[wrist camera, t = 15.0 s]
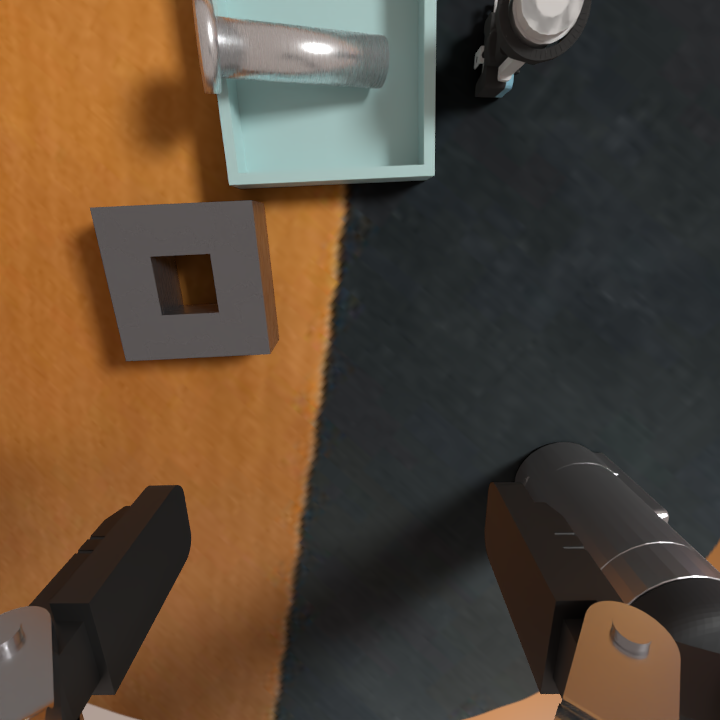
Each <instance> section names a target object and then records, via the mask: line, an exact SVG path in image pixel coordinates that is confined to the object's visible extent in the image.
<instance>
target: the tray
mask: <svg viewBox="0 0 720 720" xmlns="http://www.w3.org/2000/svg"><path fill="white" fill-rule="evenodd" d="M212 2H213V7H214V13H215V16H222V17H230V18H239V19H248V20H257V21H265V22H274V23H283V24H292V25H300V26H309V27H318V28H327V29H335V30H344V31H353V32H361V33H370V34H379V35H384V36H385V37H386V38H387V41H388V45H389V68H388V73H387V77H386V80H385V83H384V85H383V86H382V88H380V89H372V88H358V87H343V86H328V85H314V84H299V83H285V82H270V81H255V80H241V79H226V78H221V81H222V92H221V94H217V99H218V106H219V113H220V121H221V128H222V136H223V143H224V151H225V158H226V166H227V173H228V181H229V185H230V186H233V187H236V188H239V189H251V188H273V187H294V186H316V185H337V184H359V183H380V182H402V181H423V180H428V179H429V178H431V177H433V176H434V173H435V82H436V0H212Z"/></svg>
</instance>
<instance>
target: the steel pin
mask: <svg viewBox="0 0 720 720" xmlns="http://www.w3.org/2000/svg"><path fill="white" fill-rule="evenodd" d="M192 1H193V14H194V23H195V32H196V41H197V49H198V56H199V63H200V70H201V76H202V82H203V88H204V92H205V93H209V94H221V92H222V81H221V78H226V79H241V80H255V81H270V82H285V83H299V84H314V85H328V86H343V87H358V88H372V89H380V88H382V86H383V85H384V83H385V80H386V77H387V73H388V68H389V45H388V41H387V38H386V37H385V36H384V35H379V34H370V33H361V32H353V31H344V30H335V29H327V28H318V27H309V26H300V25H292V24H283V23H274V22H265V21H257V20H248V19H239V18H230V17H222V16H215V13H214V7H213V2H212V0H192Z"/></svg>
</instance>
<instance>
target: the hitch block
mask: <svg viewBox="0 0 720 720" xmlns="http://www.w3.org/2000/svg"><path fill="white" fill-rule="evenodd" d="M90 210H91V214H92V219H93V223H94V227H95V231H96V236H97V240H98V244H99V248H100V253H101V257H102V261H103V265H104V270H105V274H106V278H107V282H108V286H109V291H110V295H111V299H112V303H113V308H114V312H115V316H116V320H117V325H118V329H119V333H120V337H121V341H122V346H123V350H124V354H125V358H126V361H140V360H160V359H180V358H200V357H220V356H240V355H260V354H271V352H272V350H273V349H274V347H275V345H276V344H277V342H278V341H279V334H278V325H277V316H276V307H275V298H274V289H273V280H272V271H271V262H270V253H269V244H268V235H267V226H266V217H265V208H264V203H261V202H257V201H253V200H246V201H224V202H203V203H182V204H160V205H139V206H117V207H96V208H90ZM196 254H210V257H211V263H212V270H213V276H214V283H215V289H216V295H217V302H218V303H214V304H194V305H183V300H182V294H181V289H180V283H179V278H178V272H177V267H176V261H175V255H196Z"/></svg>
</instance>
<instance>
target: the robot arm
mask: <svg viewBox="0 0 720 720" xmlns="http://www.w3.org/2000/svg"><path fill="white" fill-rule="evenodd" d="M668 519H669V515H668V512H667V511H666V510H665V509H664V508H663V507H662V506H661V505H660V504H659V503H658V502H656V501H655V500H654V499H653V498H652V497H651V496H650V495H649V494H648V493H646V492H645V491H644V490H643V489H642V488H641V487H640V486H639V485H638V484H636V483H635V482H634V481H633V480H632V479H631V478H630V477H629V476H628V475H626V474H625V473H624V472H623V471H622V470H621V469H620V468H619V467H618V466H616V465H615V464H614V463H613V462H612V461H611V460H610V459H609V458H608V457H606V456H605V455H604V454H603V453H593V452H591V451H590V450H588V449H587V448H585V447H584V446H581V445H579V444H576V443H569V442H558V443H553V444H549V445H546V446H544V447H542V448H539V449H538V450H536V451H535V452H533V453H532V454H531V455H529V456H528V457H527V458H526V459H525V460H524V462H523V463H522V464H521V466H520V467H519V469H518V472H517V474H516V477H515V482H491V483H490V485H489V490H488V500H487V511H486V522H485V545H486V551H487V555H488V558H489V561H490V564H491V566H492V569H493V571H494V574H495V577H496V579H497V582H498V585H499V587H500V590H501V592H502V595H503V598H504V600H505V603H506V605H507V608H508V611H509V613H510V616H511V618H512V621H513V624H514V626H515V629H516V631H517V634H518V637H519V639H520V642H521V644H522V647H523V650H524V652H525V655H526V657H527V660H528V663H529V665H530V668H531V670H532V673H533V676H534V678H535V681H536V683H537V686H538V689H539V691H540V694H560V695H561V698H562V702H561V704H559V706H558V709H557V712H556V715H555V719H554V720H720V572H719V571H717V570H716V569H715V568H714V567H713V566H712V565H711V564H710V563H709V562H708V561H707V560H706V559H705V558H704V557H702V556H701V555H700V554H699V553H698V552H697V551H696V550H695V549H694V548H693V547H692V546H691V545H690V544H689V543H687V542H686V541H685V540H684V539H683V538H682V537H681V536H680V535H679V534H678V533H677V532H676V531H675V530H674V529H673V528H672V527H670V526H669V525H668V524H667V523H668ZM190 546H191V531H190V526H189V520H188V514H187V508H186V502H185V497H184V492H183V489H182V487H181V486H179V485H161V486H148V487H147V488H146V489H145V490H144V491H143V492H142V493H141V494H140V496H139V497H138V498H137V499H136V500H135V502H134V503H133V504H132V505H131V506H125V507H123V508H122V509H120V510H119V511H117V512H116V513H114V514H113V515H111V516H110V517H109V518H107V519H106V520H104V522H103V523H102V524H101V525H100V526H99V527H98V528H97V529H96V531H95V532H94V533H93V534H92V535H91V537H90V540H87V541H86V542H85V543H84V544H83V545H82V546H81V547H80V549H79V550H78V553H77V554H74V555H73V557H72V558H71V559H70V560H69V561H68V562H67V563H66V564H65V566H64V567H63V568H62V569H61V570H60V571H59V572H58V573H57V575H56V576H55V577H54V578H53V579H52V580H51V581H50V582H49V584H48V585H47V586H46V587H45V588H44V589H43V590H42V591H41V593H40V594H39V595H38V596H37V597H36V598H35V599H34V600H33V602H32V603H31V604H30V605H29V606H27V607H21V608H17V609H14V610H11V611H8V612H6V613H3V614H1V615H0V720H84V718H83V715H82V711H83V709H84V707H85V705H86V704H87V702H88V700H89V699H90V697H91V695H115V694H116V692H117V690H118V688H119V686H120V684H121V682H122V680H123V679H124V677H125V675H126V673H127V671H128V669H129V667H130V665H131V663H132V662H133V660H134V658H135V656H136V654H137V652H138V650H139V648H140V647H141V645H142V643H143V641H144V639H145V637H146V635H147V633H148V632H149V630H150V628H151V626H152V624H153V622H154V620H155V618H156V617H157V615H158V613H159V611H160V609H161V607H162V605H163V603H164V601H165V600H166V598H167V596H168V594H169V592H170V590H171V588H172V586H173V585H174V583H175V581H176V579H177V577H178V575H179V573H180V571H181V570H182V568H183V566H184V564H185V562H186V560H187V558H188V555H189V551H190Z"/></svg>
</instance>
